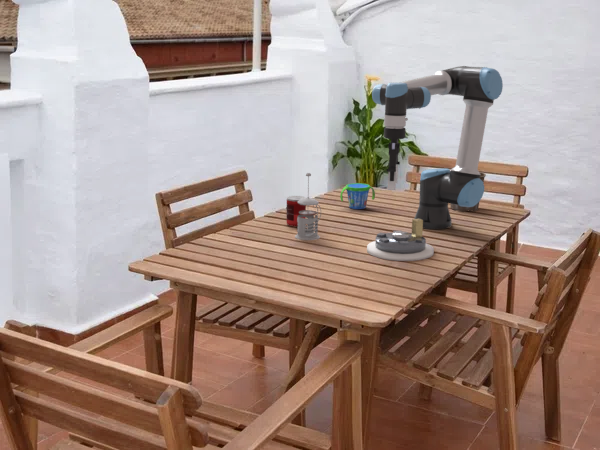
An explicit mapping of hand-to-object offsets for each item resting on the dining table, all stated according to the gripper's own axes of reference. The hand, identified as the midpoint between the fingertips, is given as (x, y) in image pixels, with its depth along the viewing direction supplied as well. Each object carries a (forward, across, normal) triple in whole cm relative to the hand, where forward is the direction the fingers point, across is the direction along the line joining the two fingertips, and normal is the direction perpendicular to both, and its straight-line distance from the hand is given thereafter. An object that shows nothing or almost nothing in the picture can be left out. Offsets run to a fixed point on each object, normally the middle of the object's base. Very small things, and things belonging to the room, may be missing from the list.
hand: (392, 186), depth 303 cm
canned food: (+24, +30, +40) cm, 55 cm away
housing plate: (+24, -2, -4) cm, 24 cm away
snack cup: (+24, +65, +18) cm, 72 cm away
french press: (+24, +12, +32) cm, 41 cm away
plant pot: (+24, +74, -30) cm, 83 cm away
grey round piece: (+22, -2, -4) cm, 22 cm away
